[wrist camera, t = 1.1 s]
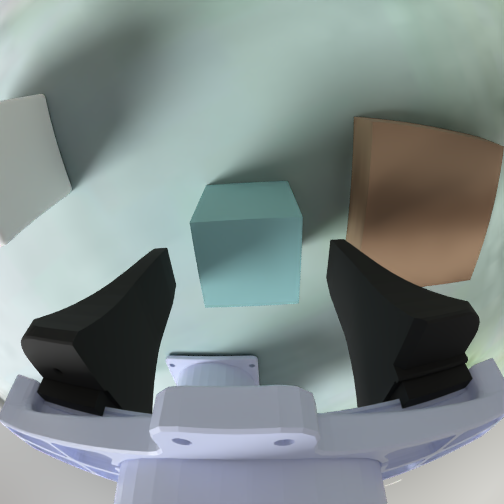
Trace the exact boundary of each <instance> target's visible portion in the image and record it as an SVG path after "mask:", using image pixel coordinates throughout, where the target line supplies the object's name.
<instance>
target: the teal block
mask: <svg viewBox="0 0 504 504" xmlns="http://www.w3.org/2000/svg"><path fill="white" fill-rule="evenodd" d="M302 225H303V216H302V214H301V211H300V209H299V207H298V204H297V202H296V200H295V197H294V195H293V193H292V190H291V188H290V186H289V183H288V181H270V182H248V183H231V184H217V185H206V187H205V189H204V192H203V194H202V196H201V198H200V201H199V203H198V205H197V207H196V210H195V212H194V214H193V216H192V219H191V221H190V227H191V233H192V239H193V245H194V251H195V256H196V262H197V267H198V273H199V278H200V283H201V288H202V293H203V298H204V303H205V308H206V307H239V306H262V305H280V304H296V303H299V290H300V272H301V251H302Z"/></svg>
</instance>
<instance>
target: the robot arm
mask: <svg viewBox="0 0 504 504" xmlns="http://www.w3.org/2000/svg"><path fill="white" fill-rule="evenodd" d="M326 278H327V283H328V287H329V292H330V296H331V299H332V301H333V304H334V307H335V310H336V312H337V315H338V318H339V320H340V323H341V326H342V329H343V331H344V334H345V337H346V341H347V345H348V349H349V354H350V359H351V364H352V370H353V375H354V382H355V389H356V397H357V407H358V408H353V409H347V410H341V411H334V412H327V413H317V409H316V403H315V399H314V396H313V393H311V392H309V391H307V390H305V389H302V388H300V387H298V386H292V385H259V371H258V358H257V357H256V356H167V357H166V363H167V366H168V368H169V370H170V372H171V374H172V377H173V379H174V381H175V383H176V385H177V386H173V387H168V388H165V389H164V390H162V391H161V392H159V393H158V394H157V395H156V400H155V404H154V409H153V414H152V405H153V391H154V380H155V372H156V365H157V358H158V352H159V347H160V343H161V340H162V336H163V333H164V330H165V327H166V324H167V320H168V317H169V314H170V311H171V308H172V304H173V300H174V295H175V288H176V282H175V278H174V274H173V270H172V266H171V262H170V258H169V254H168V249H167V248H157V249H153V250H152V251H150V252H149V253H148V254H146V255H145V256H144V257H143V258H141V259H140V260H139V261H138V262H136V263H135V264H134V265H133V266H132V267H130V268H129V269H128V270H127V271H125V272H124V273H123V274H121V275H120V276H119V277H117V278H116V279H115V280H114V281H112V282H111V283H109V284H108V285H107V286H105V287H104V288H102V289H101V290H99V291H97V292H96V293H94V294H92V295H91V296H89V297H87V298H85V299H83V300H81V301H80V302H78V303H76V304H74V305H72V306H69V307H67V308H65V309H62V310H60V311H58V312H55V313H52V314H49V315H46V316H43V317H40V318H37V319H34V320H33V322H32V323H31V325H30V326H29V328H28V329H27V331H26V333H25V334H24V336H23V337H22V340H21V346H22V349H23V351H24V353H25V355H26V356H27V358H28V359H29V361H30V362H31V363H32V364H33V366H34V367H35V368H36V369H37V371H38V372H39V373H40V374H41V376H42V377H43V379H42V382H41V384H40V383H39V382H38V381H36V380H34V379H32V378H28V377H25V376H22V375H18V376H17V378H16V379H15V382H14V384H13V386H12V388H11V390H10V392H9V394H8V396H7V398H6V400H5V403H4V405H3V407H2V410H1V412H0V422H1V423H2V424H3V425H4V426H5V427H7V428H8V429H9V430H10V431H11V432H13V433H14V434H15V435H16V436H18V437H19V438H20V439H22V440H23V441H24V442H26V443H27V444H28V445H30V446H31V447H33V448H34V449H36V450H38V451H40V452H43V453H45V454H47V455H49V456H52V457H54V458H56V459H58V460H60V461H63V462H65V463H67V464H70V465H72V466H74V467H77V468H79V469H82V470H84V471H87V472H90V473H93V474H95V475H98V476H101V477H104V478H106V479H110V480H113V481H116V482H117V487H116V494H115V499H114V504H387V500H386V495H385V489H384V485H383V480H385V479H388V478H391V477H394V476H397V475H400V474H402V473H405V472H407V471H410V470H413V469H415V468H417V467H420V466H422V465H425V464H427V463H429V462H431V461H434V460H436V459H438V458H440V457H442V456H444V455H446V454H449V453H451V452H452V451H455V450H457V449H459V448H461V447H463V446H464V445H466V444H468V443H470V442H472V441H474V440H476V439H478V438H479V437H481V436H483V435H484V434H485V433H486V432H488V431H489V430H490V429H491V428H493V427H494V426H495V425H496V424H497V423H498V422H499V421H500V420H501V419H503V418H504V378H503V376H502V374H501V372H500V370H499V368H498V367H497V365H496V363H495V361H494V360H493V358H490V359H488V360H485V361H483V362H480V363H478V364H475V365H474V366H472V367H471V368H469V370H468V368H467V366H466V364H465V363H467V361H468V357H467V356H466V354H465V351H466V350H467V348H468V346H469V345H470V343H471V342H472V340H473V338H474V337H475V335H476V333H477V330H478V327H479V323H480V321H479V316H478V315H477V313H476V312H475V310H474V309H473V308H472V306H471V305H470V303H469V302H468V301H464V300H460V299H455V298H451V297H447V296H444V295H441V294H438V293H435V292H432V291H430V290H427V289H424V288H422V287H420V286H418V285H415V284H413V283H411V282H409V281H407V280H405V279H403V278H401V277H399V276H397V275H396V274H394V273H392V272H390V271H389V270H387V269H386V268H384V267H383V266H381V265H379V264H378V263H377V262H375V261H374V260H372V259H371V258H369V257H368V256H367V255H365V254H364V253H363V252H361V251H360V250H358V249H357V248H356V247H354V246H353V245H352V244H350V243H349V242H347V241H346V240H344V239H338V240H330V250H329V259H328V268H327V277H326Z"/></svg>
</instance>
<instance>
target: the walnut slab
mask: <svg viewBox="0 0 504 504" xmlns="http://www.w3.org/2000/svg"><path fill="white" fill-rule="evenodd" d="M503 150H504V146H501V145H499V144H496V143H494V142H491V141H489V140H486V139H483V138H481V137H477V136H473V135H469V134H465V133H461V132H457V131H452V130H447V129H443V128H437V127H432V126H427V125H421V124H415V123H408V122H401V121H394V120H385V119H376V118H366V117H354V135H353V161H352V178H351V192H350V204H349V215H348V225H347V234H346V241H347V242H349V243H350V244H352V245H353V246H354V247H356V248H357V249H358V250H360V251H361V252H363V253H364V254H365V255H367V256H368V257H369V258H371V259H372V260H374V261H375V262H377V263H378V264H379V265H381V266H383V267H384V268H386V269H387V270H389V271H390V272H392V273H394V274H396V275H397V276H399V277H401V278H403V279H405V280H407V281H409V282H411V283H413V284H415V285H418V286H420V287H424V286H432V285H439V284H446V283H453V282H460V281H466V280H470V279H471V276H472V273H473V271H474V268H475V265H476V263H477V260H478V257H479V254H480V251H481V248H482V245H483V242H484V239H485V235H486V232H487V228H488V225H489V221H490V217H491V214H492V210H493V205H494V201H495V197H496V192H497V187H498V182H499V176H500V171H501V164H502V157H503Z"/></svg>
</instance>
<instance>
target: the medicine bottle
mask: <svg viewBox="0 0 504 504" xmlns="http://www.w3.org/2000/svg"><path fill="white" fill-rule="evenodd" d="M71 191H72V187H71V184H70V181H69V179H68V176H67V173H66V170H65V167H64V164H63V161H62V158H61V155H60V151H59V148H58V145H57V141H56V138H55V135H54V131H53V127H52V123H51V120H50V116H49V112H48V107H47V103H46V98H45V96H44V95H43V94H37V95H30V96H24V97H19V98H13V99H8V100H4V101H0V247H2V246H4V245H7V244H8V243H9V242H10V241H11V240H12V239H13V238H14V237H16V236H17V235H18V234H19V233H20V232H21V231H23V230H24V229H25V228H26V227H27V226H28V225H30V224H31V223H32V222H33V221H35V220H36V219H37V218H38V217H39V216H41V215H42V214H43V213H45V212H46V211H47V210H48V209H50V208H51V207H52V206H54V205H55V204H56V203H58V202H59V201H60V200H62V199H63V198H64V197H66V196H67V195H69V194H70V193H71Z"/></svg>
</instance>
